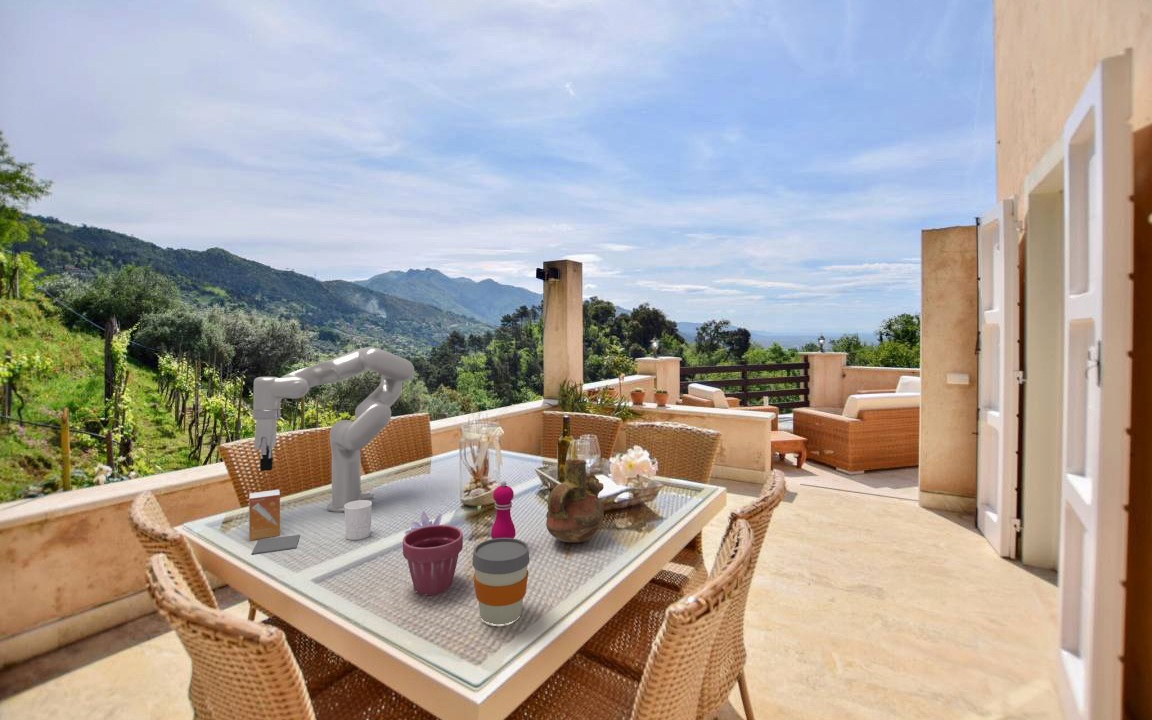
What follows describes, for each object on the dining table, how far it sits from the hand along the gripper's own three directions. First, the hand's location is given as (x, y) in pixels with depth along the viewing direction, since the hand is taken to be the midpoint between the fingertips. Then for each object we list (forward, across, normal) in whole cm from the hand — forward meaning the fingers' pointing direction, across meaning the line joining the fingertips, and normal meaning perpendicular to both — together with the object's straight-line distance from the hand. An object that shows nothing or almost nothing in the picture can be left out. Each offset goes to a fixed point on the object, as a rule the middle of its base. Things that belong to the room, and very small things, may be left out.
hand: (266, 469), depth 159 cm
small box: (+18, +10, +1) cm, 21 cm away
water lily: (+18, +42, +45) cm, 64 cm away
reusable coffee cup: (+18, +82, +57) cm, 102 cm away
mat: (+18, +20, +6) cm, 28 cm away
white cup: (+18, +22, +28) cm, 40 cm away
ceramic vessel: (+17, +50, +90) cm, 104 cm away
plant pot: (+18, +63, +45) cm, 80 cm away
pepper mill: (+17, +48, +67) cm, 84 cm away
